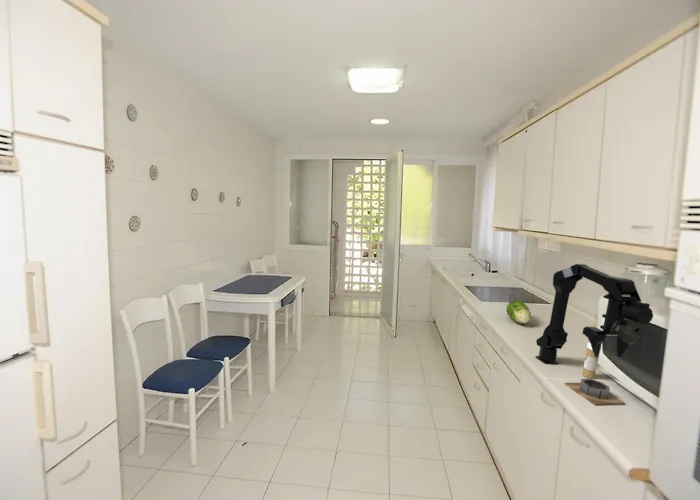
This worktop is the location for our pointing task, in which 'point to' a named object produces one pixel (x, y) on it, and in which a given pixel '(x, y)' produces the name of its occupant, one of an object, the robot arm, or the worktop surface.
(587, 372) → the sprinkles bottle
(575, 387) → the socket board
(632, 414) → the worktop surface
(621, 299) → the robot arm
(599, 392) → the socket collar
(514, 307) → the lettuce
